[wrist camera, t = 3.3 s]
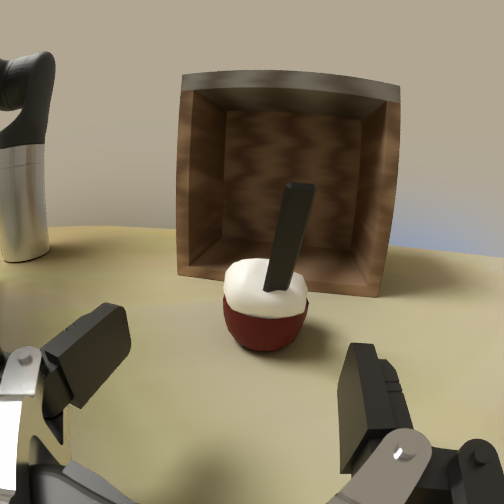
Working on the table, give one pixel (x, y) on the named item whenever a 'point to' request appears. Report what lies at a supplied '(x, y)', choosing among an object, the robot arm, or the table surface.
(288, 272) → the cream-topped red cup
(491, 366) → the table surface
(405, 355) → the table surface
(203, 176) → the under counter cubby
